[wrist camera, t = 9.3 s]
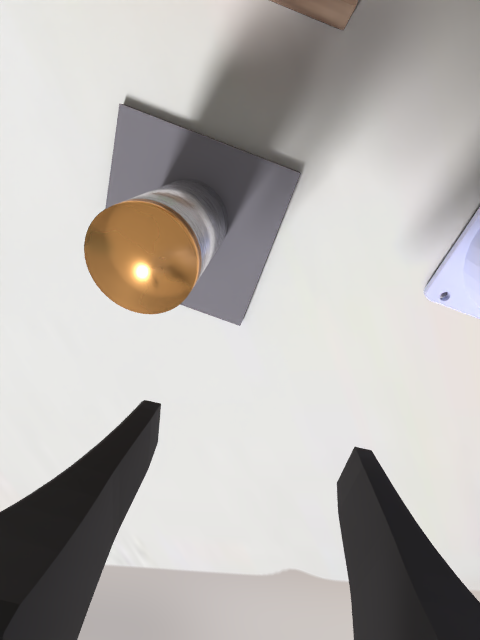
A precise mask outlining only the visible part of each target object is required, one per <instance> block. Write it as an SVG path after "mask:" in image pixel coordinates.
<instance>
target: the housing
mask: <svg viewBox="0 0 480 640" xmlns="http://www.w3.org/2000/svg"><path fill="white" fill-rule="evenodd" d="M270 1H272V2H275V3H277V4H280V5H282V6H284V7H287V8H289V9H292V10H294V11H297V12H299V13H301V14H304V15H306V16H309V17H311V18H314V19H316V20H319V21H321V22H323V23H326V24H328V25H331V26H333V27H336V28H338V29H340V30H344V28H345V26H346V24H347V22H348V21H349V19H350V17H351V15H352V13H353V11H354V9H355V7H356V5H357V2H358V0H270Z"/></svg>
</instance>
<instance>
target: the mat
mask: <svg viewBox="0 0 480 640" xmlns="http://www.w3.org/2000/svg"><path fill="white" fill-rule="evenodd" d="M299 176H300V172H297V171H295V170H292V169H289V168H287V167H284V166H282V165H279V164H277V163H274V162H271V161H269V160H266V159H264V158H261V157H258V156H256V155H253V154H251V153H248V152H245V151H243V150H240V149H238V148H235V147H232V146H230V145H227V144H225V143H222V142H220V141H217V140H214V139H212V138H209V137H207V136H204V135H201V134H199V133H196V132H194V131H191V130H188V129H186V128H183V127H181V126H178V125H175V124H173V123H170V122H168V121H165V120H163V119H160V118H157V117H155V116H152V115H150V114H147V113H144V112H142V111H139V110H137V109H134V108H131V107H129V106H126V105H124V104H119V112H118V119H117V127H116V134H115V142H114V149H113V157H112V164H111V172H110V179H109V187H108V194H107V201H106V208H108V207H111V206H113V205H115V204H118V203H121V202H123V201H126V200H128V199H131V198H134V197H136V196H139V195H141V194H144V193H147V192H149V191H152V190H154V189H157V188H160V187H162V186H165V185H167V184H170V183H173V182H175V181H178V180H184V179H190V180H196V181H200V182H202V183H204V184H206V185H208V186H209V187H211V188H212V189H213V190H214V191H215V192H216V193H217V194H218V195H219V197H220V198H221V200H222V201H223V203H224V205H225V208H226V211H227V216H228V228H227V232H226V235H225V238H224V240H223V242H222V243H221V245H220V246H219V248H218V249H217V251H216V253H215V254H214V256H213V257H212V259H211V260H210V262H209V264H208V265H207V267H206V268H205V270H204V272H203V273H202V275H201V276H200V278H199V279H198V281H197V283H196V284H195V286H194V287H193V289H192V290H191V292H190V294H189V295H188V296H187V298H186V299H185V300H184V301H183V302H182V303H181V304H180V305H183V306H186V307H189V308H192V309H194V310H197V311H200V312H203V313H206V314H208V315H211V316H214V317H217V318H220V319H222V320H225V321H228V322H231V323H234V324H236V325H239V326H240V325H241V323H242V320H243V317H244V315H245V312H246V310H247V307H248V305H249V302H250V300H251V297H252V295H253V292H254V290H255V287H256V285H257V282H258V280H259V277H260V274H261V272H262V269H263V267H264V264H265V262H266V259H267V257H268V254H269V252H270V249H271V247H272V244H273V242H274V239H275V237H276V234H277V232H278V229H279V226H280V224H281V221H282V219H283V216H284V214H285V211H286V209H287V206H288V204H289V201H290V199H291V196H292V194H293V191H294V189H295V186H296V183H297V181H298V178H299Z"/></svg>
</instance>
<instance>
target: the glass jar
mask: <svg viewBox="0 0 480 640" xmlns="http://www.w3.org/2000/svg"><path fill="white" fill-rule="evenodd" d="M227 228H228V216H227V211H226V208H225V205H224V203H223V201H222V200H221V198H220V197H219V195H218V194H217V193H216V192H215V191H214V190H213V189H212V188H211V187H209V186H208V185H206V184H204V183H202V182H200V181H196V180H190V179H184V180H178V181H175V182H173V183H170V184H167V185H165V186H162V187H160V188H157V189H154V190H152V191H149V192H147V193H144V194H141V195H139V196H136V197H134V198H131V199H128V200H126V201H123V202H121V203H118V204H115V205H113V206H111V207H108V208H106V209H105V210H103V211H102V212H101V213H99V214H98V215H97V216H96V217H95V218H94V220H93V221H92V223H91V224H90V226H89V228H88V230H87V234H86V237H85V243H84V253H85V260H86V264H87V267H88V270H89V272H90V274H91V276H92V278H93V280H94V282H95V283H96V285H97V286H98V287H99V288H100V290H101V291H102V292H103V293H104V294H105V295H106V296H107V297H108V298H109V299H111V300H112V301H113V302H115V303H116V304H118V305H120V306H121V307H123V308H125V309H128V310H130V311H134V312H137V313H143V314H158V313H163V312H166V311H169V310H171V309H173V308H175V307H177V306H178V305H180V304H181V303H182V302H183V301H184V300H185V299H186V298H187V296H188V295H189V294H190V292H191V290H192V289H193V287H194V286H195V284H196V283H197V281H198V279H199V278H200V276H201V275H202V273H203V272H204V270H205V268H206V267H207V265H208V264H209V262H210V260H211V259H212V257H213V256H214V254H215V253H216V251H217V249H218V248H219V246H220V245H221V243H222V242H223V240H224V238H225V235H226V232H227Z"/></svg>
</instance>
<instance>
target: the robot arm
mask: <svg viewBox="0 0 480 640" xmlns="http://www.w3.org/2000/svg"><path fill="white" fill-rule="evenodd" d="M443 292H448V293H447V295H446V296H445V297H443V298H440V295H441V294H442V293H443ZM424 294H425V296H426V298H427V299H429V300H430V301H432V302H435V303H438V304H440V305H443V306H446V307H448V308H451V309H454V310H456V311H459V312H462V313H465V314H467V315H470V316H473V317H475V318H478V319H480V207H479V209H478V210H477V212H476V213H475V215H474V216H473V218H472V219H471V221H470V222H469V224H468V225H467V227H466V228H465V230H464V231H463V233H462V234H461V235H460V237H459V238H458V240H457V241H456V243H455V244H454V246H453V247H452V249H451V250H450V252H449V253H448V255H447V256H446V258H445V259H444V261H443V262H442V264H441V265H440V267H439V268H438V270H437V271H436V273H435V274H434V276H433V277H432V279H431V280H430V282H429V283H428V285H427V286H426V287H425V290H424ZM160 409H161V404H160V403H155V402H151V401H146V400H144V401H142V402H141V403H140V404H139V405H138V406H137V408H136V409H135V410H134V411H133V412H132V413H131V414H130V415H129V416H128V417H127V418H126V419H125V420H124V421H123V422H122V423H121V424H120V425H119V426H117V427H116V428H115V429H114V430H113V431H112V432H111V433H110V434H109V435H108V436H107V437H105V438H104V439H103V440H102V441H101V442H100V443H99V444H98V445H96V446H95V447H94V448H93V449H91V450H90V451H89V452H88V453H87V454H85V455H84V456H83V457H82V458H81V459H79V460H78V461H77V462H75V463H74V464H73V465H72V466H70V467H69V468H68V469H66V470H65V471H64V472H62V473H61V474H59V475H58V476H57V477H55V478H54V479H52V480H51V481H49V482H48V483H46V484H45V485H43V486H42V487H40V488H39V489H37V490H36V491H34V492H33V493H31V494H30V495H28V496H27V497H25V498H23V499H22V500H20V501H19V502H17V503H15V504H14V505H12V506H10V507H8V508H7V509H5V510H3V511H1V512H0V640H77V638H78V635H79V633H80V630H81V627H82V624H83V621H84V619H85V616H86V613H87V611H88V608H89V605H90V602H91V600H92V597H93V594H94V592H95V589H96V586H97V583H98V581H99V578H100V576H101V573H102V570H103V568H104V565H105V562H106V560H107V557H108V555H109V552H110V549H111V547H112V544H113V542H114V540H115V537H116V535H117V533H118V531H119V528H120V526H121V524H122V522H123V520H124V518H125V516H126V514H127V512H128V510H129V508H130V506H131V504H132V502H133V499H134V497H135V495H136V493H137V491H138V489H139V487H140V485H141V483H142V481H143V479H144V477H145V475H146V472H147V470H148V468H149V465H150V463H151V460H152V457H153V454H154V451H155V449H156V446H157V443H158V433H159V421H160ZM337 498H338V514H339V521H340V527H341V534H342V540H343V546H344V553H345V559H346V565H347V571H348V578H349V584H350V593H351V602H352V616H353V629H354V640H480V602H479V601H478V600H477V599H476V598H475V597H474V595H472V593H471V592H470V591H469V590H468V589H467V587H466V586H465V585H464V584H463V583H462V582H461V580H460V579H459V578H458V577H457V575H456V574H455V573H454V572H453V570H452V569H451V568H450V567H449V565H448V564H447V563H446V562H445V560H444V559H443V558H442V557H441V555H440V554H439V553H438V551H437V550H436V549H435V547H434V546H433V545H432V543H431V542H430V541H429V539H428V538H427V536H426V535H425V534H424V532H423V531H422V529H421V528H420V527H419V525H418V524H417V522H416V521H415V519H414V518H413V516H412V515H411V513H410V512H409V510H408V509H407V507H406V506H405V504H404V503H403V501H402V499H401V498H400V496H399V495H398V493H397V492H396V490H395V488H394V487H393V485H392V483H391V482H390V480H389V479H388V477H387V475H386V474H385V472H384V470H383V469H382V467H381V465H380V464H379V462H378V460H377V459H376V457H375V456H374V454H373V452H372V451H371V450H367V449H362V448H358V447H354V449H353V451H352V453H351V455H350V457H349V459H348V461H347V463H346V466H345V468H344V470H343V472H342V474H341V476H340V478H339V480H338V482H337Z"/></svg>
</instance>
